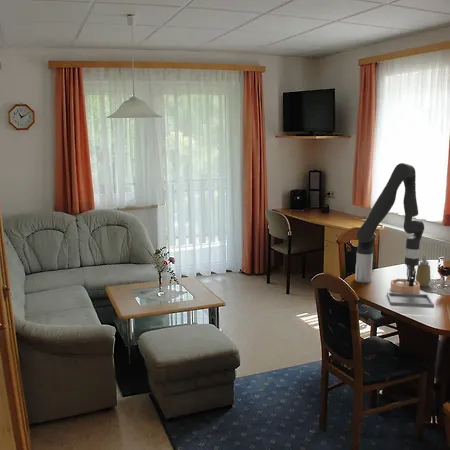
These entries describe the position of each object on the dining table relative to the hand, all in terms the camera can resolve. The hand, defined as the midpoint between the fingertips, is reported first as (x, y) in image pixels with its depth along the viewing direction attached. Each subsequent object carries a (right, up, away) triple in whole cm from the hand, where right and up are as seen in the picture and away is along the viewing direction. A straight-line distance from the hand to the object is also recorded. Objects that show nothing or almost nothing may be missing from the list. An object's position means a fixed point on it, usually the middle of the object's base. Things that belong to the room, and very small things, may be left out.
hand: (410, 285), depth 283 cm
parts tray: (-6, -7, -16) cm, 19 cm away
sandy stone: (0, -2, 0) cm, 2 cm away
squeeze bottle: (+11, -1, +12) cm, 16 cm away
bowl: (-3, -3, +1) cm, 4 cm away
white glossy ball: (-5, -2, +2) cm, 6 cm away
